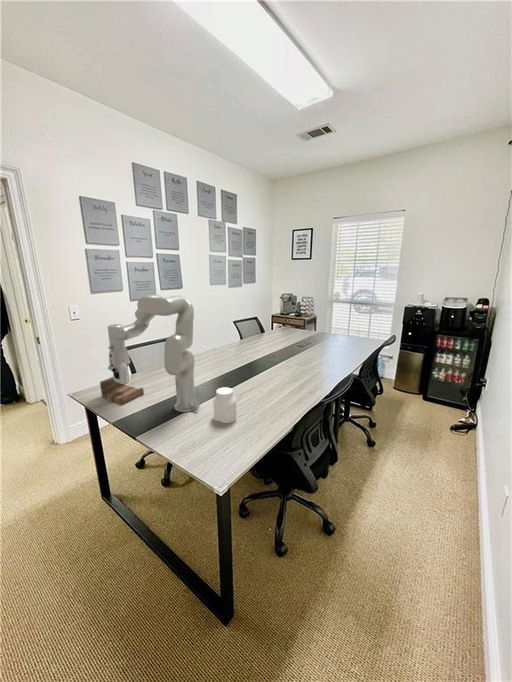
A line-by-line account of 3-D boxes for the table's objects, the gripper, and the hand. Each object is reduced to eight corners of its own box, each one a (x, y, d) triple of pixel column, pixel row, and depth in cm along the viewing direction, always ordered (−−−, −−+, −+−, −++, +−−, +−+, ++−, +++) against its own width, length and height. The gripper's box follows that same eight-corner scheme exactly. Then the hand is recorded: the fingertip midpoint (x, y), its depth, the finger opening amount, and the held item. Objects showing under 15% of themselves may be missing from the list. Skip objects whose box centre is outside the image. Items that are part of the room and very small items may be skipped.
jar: (210, 419, 140) (209, 392, 136) (221, 410, 149) (220, 384, 145) (229, 425, 135) (229, 397, 131) (239, 416, 143) (239, 389, 140)
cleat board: (143, 394, 166) (142, 379, 163) (123, 404, 154) (121, 388, 151) (122, 388, 174) (120, 373, 171) (102, 397, 162) (99, 381, 159)
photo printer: (130, 382, 161) (128, 362, 157) (124, 385, 157) (121, 364, 154) (119, 378, 166) (116, 359, 162) (112, 381, 162) (110, 361, 159)
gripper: (108, 351, 147) (112, 383, 152) (134, 343, 161) (137, 373, 166) (99, 349, 150) (103, 380, 155) (125, 342, 164) (128, 371, 169)
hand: (121, 376), depth 160 cm, fingers closed on photo printer, 4 cm apart
